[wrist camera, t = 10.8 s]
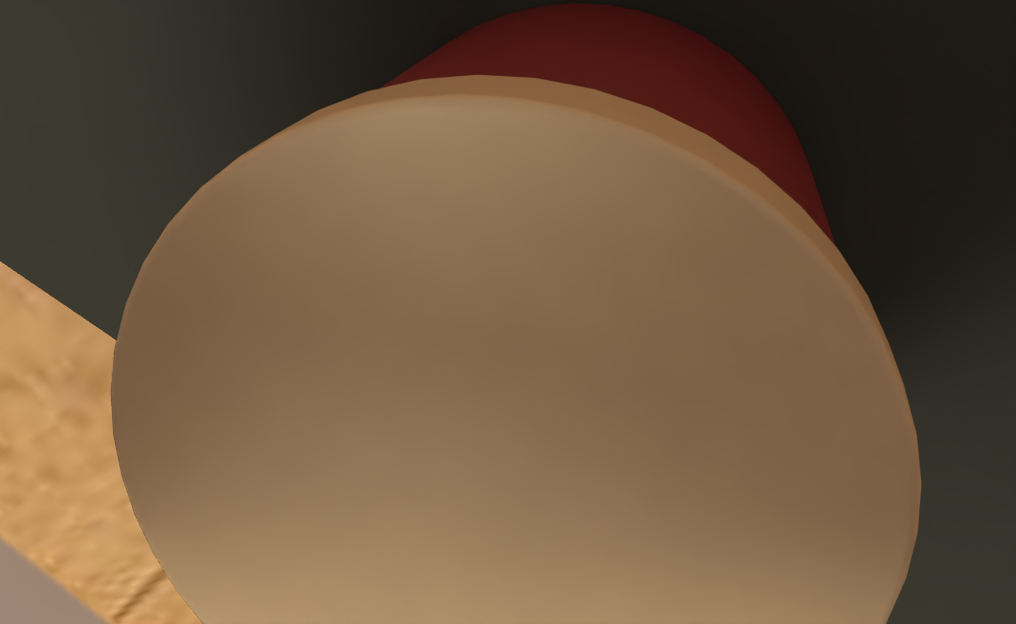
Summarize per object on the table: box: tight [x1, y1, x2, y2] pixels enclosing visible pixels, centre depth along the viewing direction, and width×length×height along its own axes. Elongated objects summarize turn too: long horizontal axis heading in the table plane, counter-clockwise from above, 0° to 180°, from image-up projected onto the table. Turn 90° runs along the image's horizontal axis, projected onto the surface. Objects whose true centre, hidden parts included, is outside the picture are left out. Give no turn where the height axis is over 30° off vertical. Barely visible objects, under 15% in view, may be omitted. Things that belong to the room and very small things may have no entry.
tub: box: [111, 3, 921, 624], centre depth 10 cm, size 7×7×6 cm
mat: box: [0, 0, 1016, 624], centre depth 13 cm, size 18×12×1 cm, turn 55°
